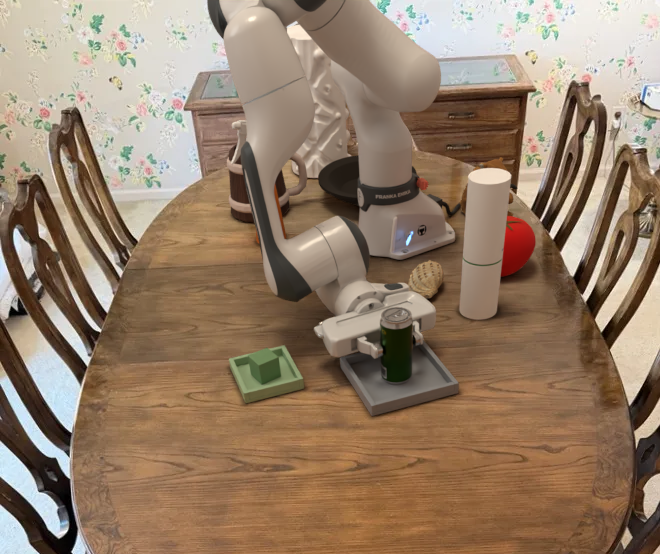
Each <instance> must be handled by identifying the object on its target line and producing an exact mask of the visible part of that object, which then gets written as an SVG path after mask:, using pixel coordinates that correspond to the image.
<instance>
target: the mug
mask: <svg viewBox="0 0 660 554" xmlns="http://www.w3.org/2000/svg"><path fill="white" fill-rule="evenodd" d="M236 147H237V143H236V144H234V145H233V146H232V147H231V148H230V149H229V150H228V157H227V158H226V168H227V169H228V173H229V174H228V175H229V177H228V178H229V191H230V194H229V196H228V205H229V206H230V213H231V215H232V216H233V217H234V218H235V219H237V220H239V221H241V222H245V223H254V219H253V215H252V211H251V207H250V203H249V199H248V194H247V190H246V185H245V181H244V176H243V171H242V165H241V154H240V156H239V158H238V159H237V161H236V162H235V163H234V164H231V161H232V159H233V156H234V153H235V150H236ZM290 160H291V162H292V161H294V162H295V163H296V165H297V166H298V172H299V175H298V183H297V185H296V186H293V187H290V188H287V187H286V183H285V177H284V173H283V168H282V169H281V171H280V172H279V174H278V176H277V178H276V181H275V185H276V190H277V194H278V199H279V204H280V208H281V213H282V217H283V216H285V215H286V213H287V212H288V211H289V209H290V206H291V204H290V197H294V196H295V197H296V196H297V195H300V194H301V193H302V192H303V191H304V189H306V188H307V182H308V178H307V172H306V165H305V162H304V160H303V159H302V157H301V156H300V155H299V154H297V153H295V154H294V155H293V156H292V157H291V158H290V159H289V160H288V161H290ZM254 224H255V223H254Z"/></svg>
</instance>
